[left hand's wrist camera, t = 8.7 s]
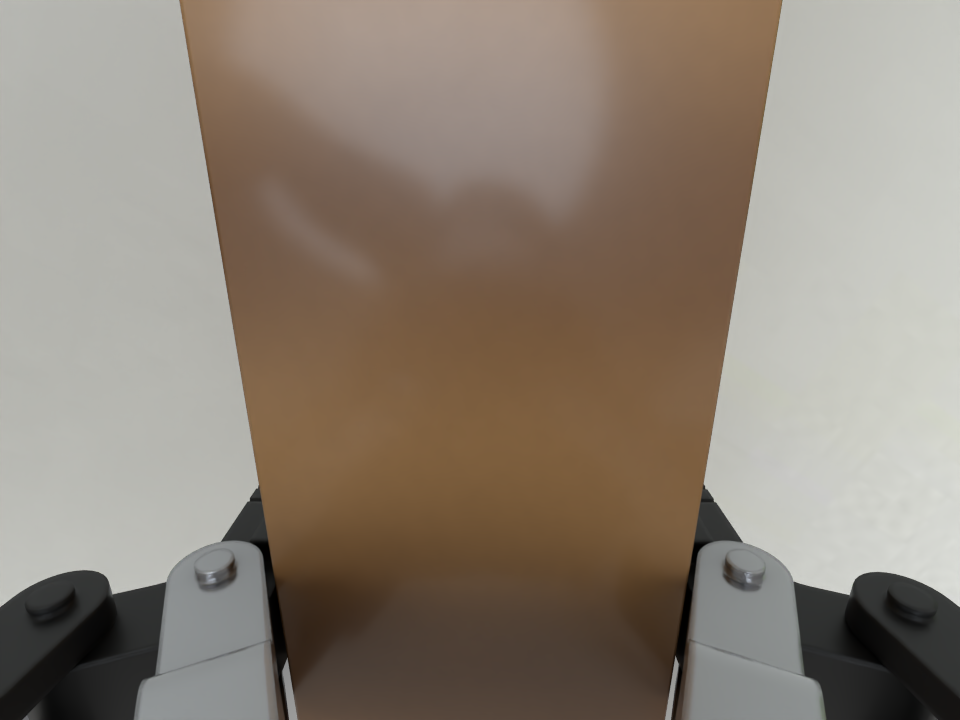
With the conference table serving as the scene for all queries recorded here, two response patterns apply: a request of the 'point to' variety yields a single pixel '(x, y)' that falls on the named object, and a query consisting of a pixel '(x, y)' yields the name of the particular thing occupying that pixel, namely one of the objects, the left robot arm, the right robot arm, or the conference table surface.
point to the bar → (481, 330)
